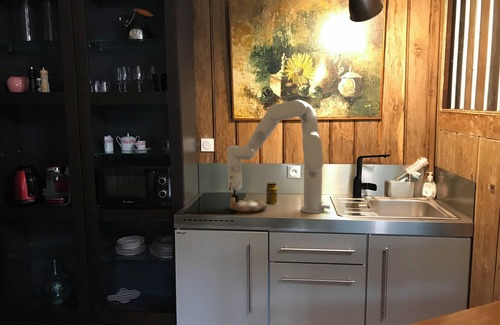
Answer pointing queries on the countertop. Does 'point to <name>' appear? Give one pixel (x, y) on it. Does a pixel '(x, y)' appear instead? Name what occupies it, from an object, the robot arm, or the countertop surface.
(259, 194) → the countertop surface
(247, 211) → the base
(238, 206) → the brown round disc
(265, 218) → the countertop surface
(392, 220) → the countertop surface
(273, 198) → the condiment
